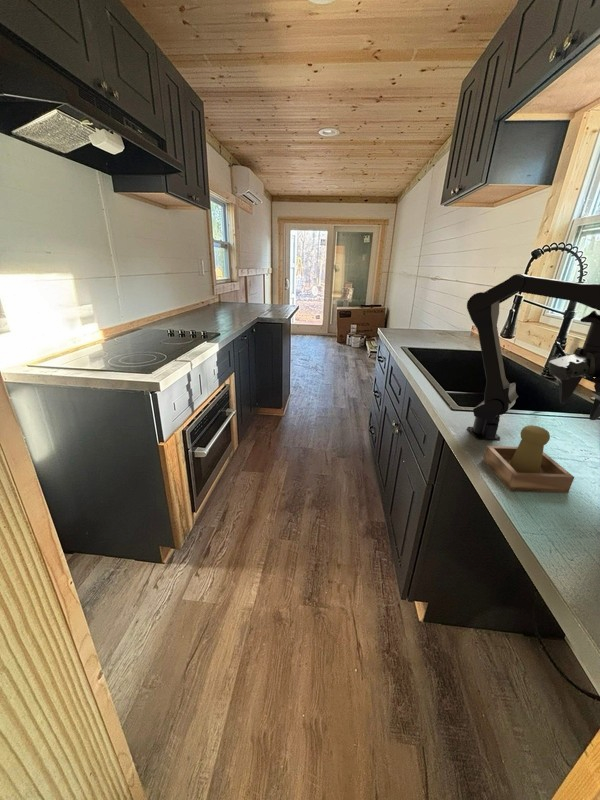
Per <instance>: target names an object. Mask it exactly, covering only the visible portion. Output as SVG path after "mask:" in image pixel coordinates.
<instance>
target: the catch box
mask: <svg viewBox="0 0 600 800" xmlns="http://www.w3.org/2000/svg"><path fill="white" fill-rule="evenodd" d="M517 448H518V446H515V445H514V446H511V445H510V446H508V445H507V446H506V445H486V449H485V452H484V457H483V459H482V460H483V462H484V463H485V464H486V465H487V466H488V467H489V468H490V469H491V471H492V472H493V473H494V474H495V475H496V476H497V477H498V479H499V478H500V479H499V480H500V481H501V482H502V484H503V485H504V486H505V487H506V488H507V489H508V490H509V491H510V492H522V493H523V492H525V493H527V492H528V493H529V492H530V493H555V494H556V493H558V494H559V493H560V494H561V493H562V494H565V493H566V494H569V492H570V490H571V488H572V484H573V482H574V479H575V476H574V475H572V473H570V472H569V471H568V470H566V469H565V468H564V467H563V466H562V465H560V463H558V462H557V461H555V460H554V459H553V458H551V456H550V455H548V454H547V453H546V452H544V451H543V455H542V461H541V468H540V473H517V472H516V471H515V470H514V469H513V468H512V467H511V466H510V465H509V464H510V462H511V460H512V458H513V456H514V454H515V452H516V450H517Z"/></svg>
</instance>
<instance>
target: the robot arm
mask: <svg viewBox="0 0 600 800" xmlns="http://www.w3.org/2000/svg"><path fill="white" fill-rule="evenodd" d="M519 293H523V294H524V293H525V294H530V295H536V296H540V297H547V298H553V299H557V300H558V299H559V300H564V301H565V300H566V301H571V302H576V303H578V304H581V305H584V306H586V307H588V308H591V309H593V310H592V311H591V312H590V313H589V314H587V315H585V316H583V317H581V318H580V322H581V323H589V324H590V325H589V328H588V330H587V331H588V332H587V334H586V337H585V340H584V343H583V345H582V346H577V348H575V349H574V352H573V354H571V355H564V356H560V357H558V358H554V359H551V360H548V367H547V370H548V371H549V375H550V376H553V377H554V378H555V379H556V380H557V383H558V391H559V393H558V394H559V403H560V404H562V405H563V404H564V405H565V404H566V403H567V402H568V401H569V400H570V398H571V397H572V396H573V393H575V391H576V389H577V388H578V385H579V384H580V382H581V381H582V379H583V380H586V381H589V382H591V383H593V384H594V386H593V387H594V390H591V395H592V396H593V397H594V400H593V404H592V407H591V410H590V412H589V413H590V414H589V418H588V419H589V420H590V421H596V420H598V419H599V418H600V314H598V313H597V311H599V312H600V283H581V282H576V281H568V280H561V279H556V278H555V279H553V278H548V277H540V276H533V275H528V274H525V273H517V274H516V273H515V274H513V275H512V276H510V277H509V278H507V279H506V280H504V281H502V282H500V283H499V284H497V285H495V286H493V287H491V288H489V289H488V290H486V291H482V292H481V291H480V292H476V293H474V294H473V295H471V296H470V298H468V300H467V302H466V309H467V312H468V315H469V318H470V320H471V321H472V323H473V324H474V326H475V328H476V329H477V334H478V340H479V345H480V351H481V356H482V362H483V369H484V374H485V379H486V384H485V388H484V395H483V396H484V397H483V398H484V399H483V401H481V402H480V403H479V404H478V405H476V406H475V407H474V408H473V409H472V411H473V412H472V413H473V417H474V421H473V424H472V426H467V430H468V431H469V432H470V434H471V435H472V436H473V437H474V438H476V439H477V440H501V436H499V435H498V434H497V433H498V429H499V423H500V420H501V419H500V417H501V416H503V415H505V414H506V413H507V412H508V411H509V410H510V409H511V408H512V407H513V406H514V405H515V404H516V400H517V398H519V395H518V393H517V390H516V387H517V385H516V382H512V383H510V382H509V380H508V379H507V378H506V373H505V366H504V360H503V355H502V349H501V342H500V336H499V330H498V320H499V316H500V315H499V314H500V304H501V303H503V302H505V301H507V300H508V299H510V298H511V297H514V296H515V295H516V294H519Z"/></svg>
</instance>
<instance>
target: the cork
mask: <svg viewBox="0 0 600 800" xmlns="http://www.w3.org/2000/svg"><path fill="white" fill-rule="evenodd" d="M550 434H551V433H550V432H549V431H548V430H547V429H546V428H544V427H541V426H539V425H534V424H533V425H526V426H524V427H522V429H521V430H520V438H521V440H520V442H519V443H518V446H517V447H518V448H517V450H516V452H515V454H514V456H513V458H512V460H511V462H510V464H509V465H510V466H511V467H512V468H513V469H514V470H515V471H516V472H517V473H540V468H541V461H542V455H543V452H544V447H545V445H547V444H548V443H549V441H550V440H551V435H550Z"/></svg>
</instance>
